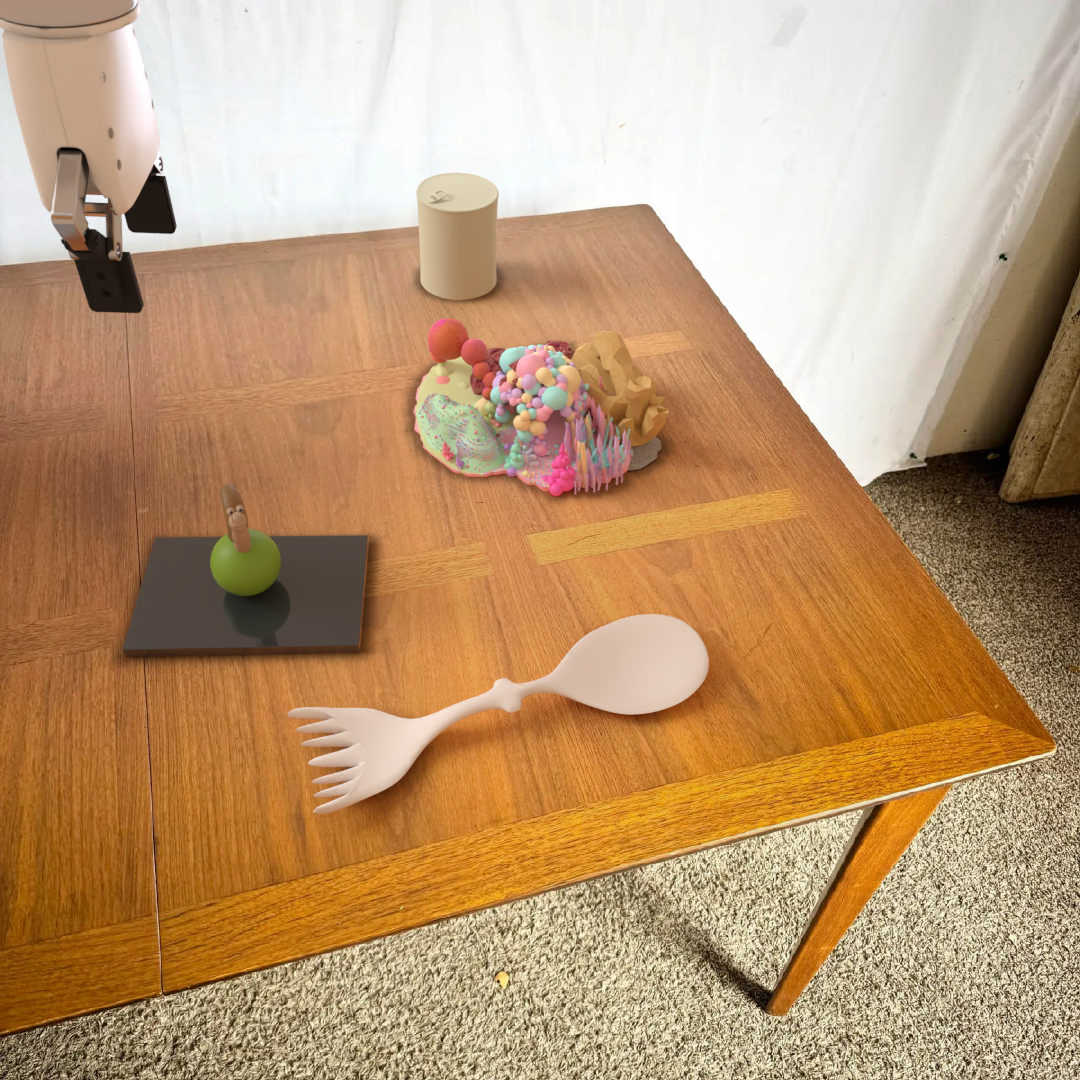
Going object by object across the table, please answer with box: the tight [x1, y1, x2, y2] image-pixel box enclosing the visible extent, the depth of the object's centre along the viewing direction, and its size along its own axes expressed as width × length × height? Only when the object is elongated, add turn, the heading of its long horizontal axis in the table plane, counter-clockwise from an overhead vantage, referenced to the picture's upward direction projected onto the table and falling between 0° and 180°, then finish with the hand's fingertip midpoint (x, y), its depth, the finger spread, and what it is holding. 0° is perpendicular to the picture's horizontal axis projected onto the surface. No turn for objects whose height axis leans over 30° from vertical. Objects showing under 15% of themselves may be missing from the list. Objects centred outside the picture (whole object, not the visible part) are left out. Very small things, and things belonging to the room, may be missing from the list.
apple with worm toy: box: [210, 482, 281, 596], centre depth 74 cm, size 5×6×12 cm
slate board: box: [122, 534, 370, 658], centre depth 79 cm, size 18×12×2 cm, turn 94°
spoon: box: [286, 613, 710, 815], centre depth 72 cm, size 9×32×4 cm, turn 113°
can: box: [415, 172, 499, 301], centre depth 110 cm, size 9×9×12 cm
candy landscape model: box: [413, 317, 670, 497], centre depth 94 cm, size 25×24×9 cm
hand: (136, 268), depth 64 cm, fingers open, 9 cm apart
